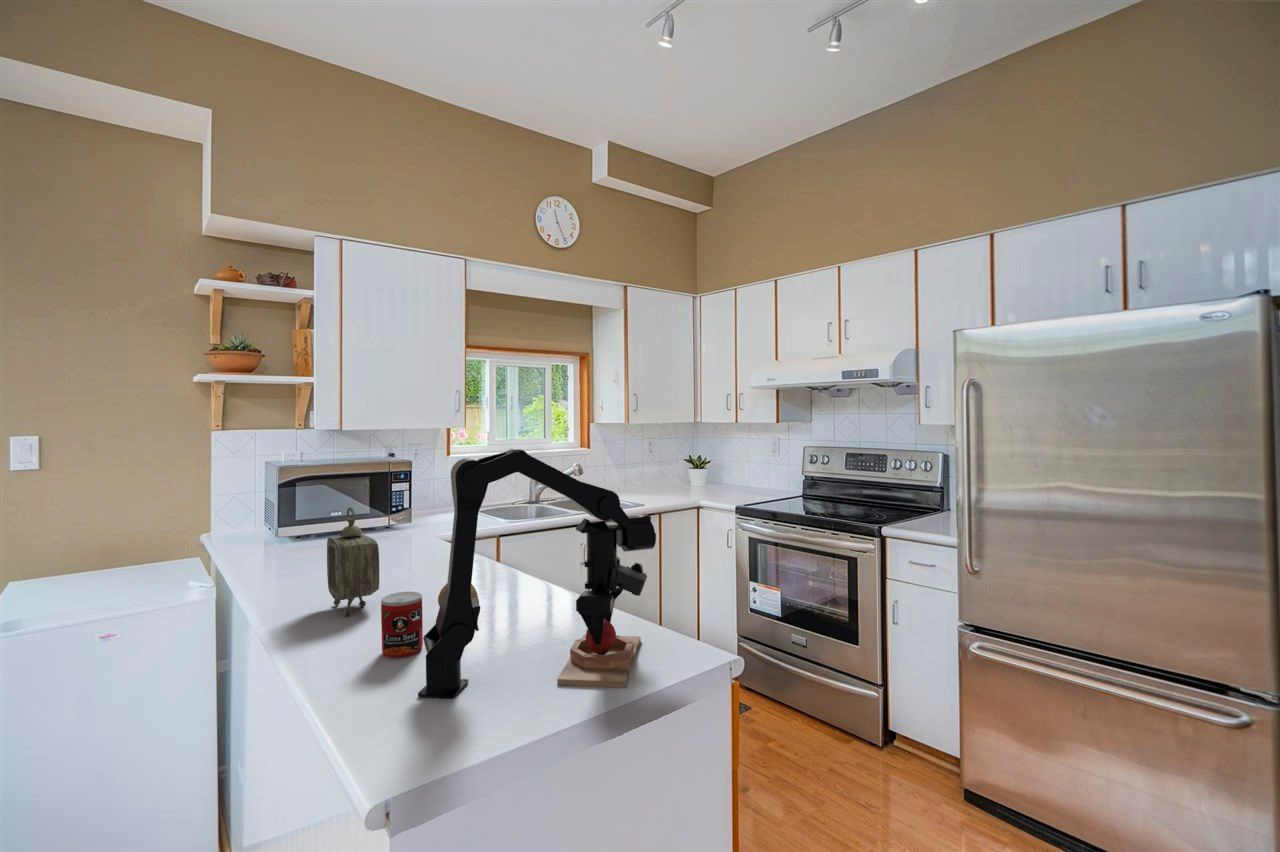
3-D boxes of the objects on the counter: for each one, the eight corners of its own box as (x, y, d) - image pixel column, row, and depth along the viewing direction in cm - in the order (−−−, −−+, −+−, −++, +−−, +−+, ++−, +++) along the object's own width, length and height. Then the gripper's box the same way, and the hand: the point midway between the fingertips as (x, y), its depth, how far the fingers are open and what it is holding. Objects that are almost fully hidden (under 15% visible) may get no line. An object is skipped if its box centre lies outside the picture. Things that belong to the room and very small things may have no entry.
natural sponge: (437, 618, 144) (436, 575, 144) (476, 613, 147) (475, 572, 147) (439, 630, 136) (438, 585, 135) (480, 625, 139) (480, 581, 139)
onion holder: (625, 687, 106) (625, 670, 106) (557, 684, 108) (557, 667, 108) (640, 641, 128) (640, 627, 128) (583, 639, 130) (583, 625, 130)
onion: (612, 662, 115) (610, 620, 114) (583, 661, 116) (580, 619, 115) (620, 650, 120) (617, 609, 120) (591, 649, 121) (589, 609, 121)
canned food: (379, 661, 119) (378, 604, 119) (384, 646, 127) (384, 593, 127) (421, 656, 121) (420, 600, 121) (424, 642, 129) (423, 589, 129)
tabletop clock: (327, 605, 155) (326, 506, 155) (366, 598, 160) (364, 502, 160) (340, 620, 143) (338, 512, 143) (381, 612, 149) (379, 509, 149)
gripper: (637, 566, 107) (638, 655, 108) (649, 544, 126) (649, 620, 126) (574, 565, 109) (575, 653, 109) (595, 543, 127) (596, 618, 128)
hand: (602, 635), depth 118 cm, fingers open, 9 cm apart
